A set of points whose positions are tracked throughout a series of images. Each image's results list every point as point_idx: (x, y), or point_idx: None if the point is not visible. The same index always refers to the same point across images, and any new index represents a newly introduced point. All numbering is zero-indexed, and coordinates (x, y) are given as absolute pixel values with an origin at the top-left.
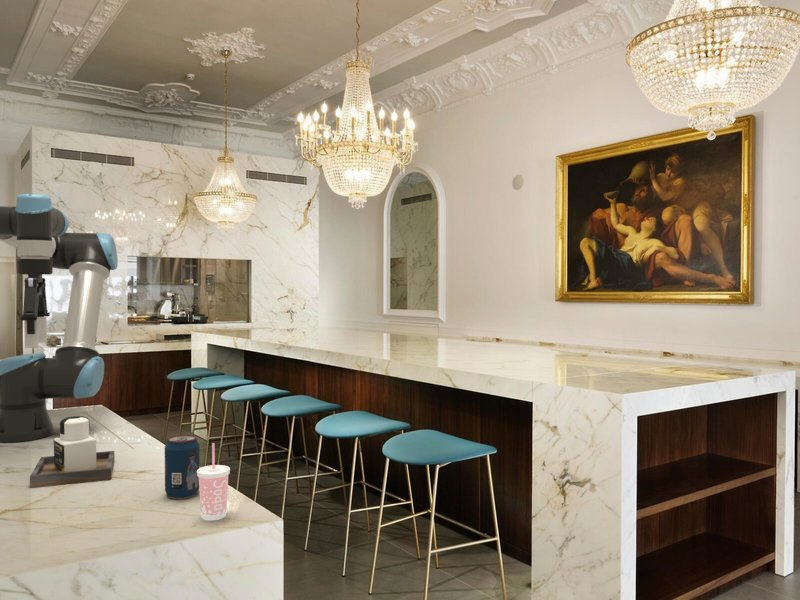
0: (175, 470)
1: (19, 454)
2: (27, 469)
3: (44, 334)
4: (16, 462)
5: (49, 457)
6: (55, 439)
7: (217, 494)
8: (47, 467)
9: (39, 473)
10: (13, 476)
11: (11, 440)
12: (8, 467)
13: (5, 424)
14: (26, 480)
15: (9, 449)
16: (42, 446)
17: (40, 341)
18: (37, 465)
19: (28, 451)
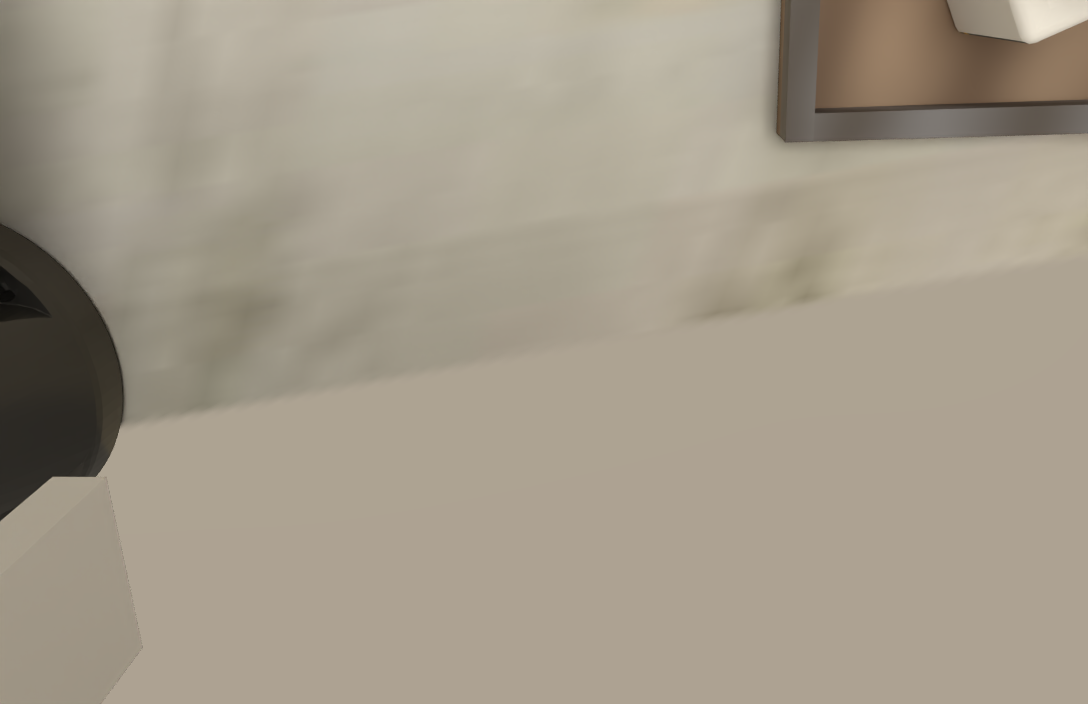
0: None
1: (418, 309)
2: (788, 204)
3: (23, 590)
4: (602, 291)
5: (814, 88)
6: (1061, 27)
7: None
8: (901, 81)
9: (1066, 101)
10: (913, 251)
11: (118, 406)
12: (701, 313)
13: (41, 483)
14: (1036, 167)
15: (283, 382)
16: (250, 213)
17: (115, 575)
18: (1000, 128)
19: (358, 272)
